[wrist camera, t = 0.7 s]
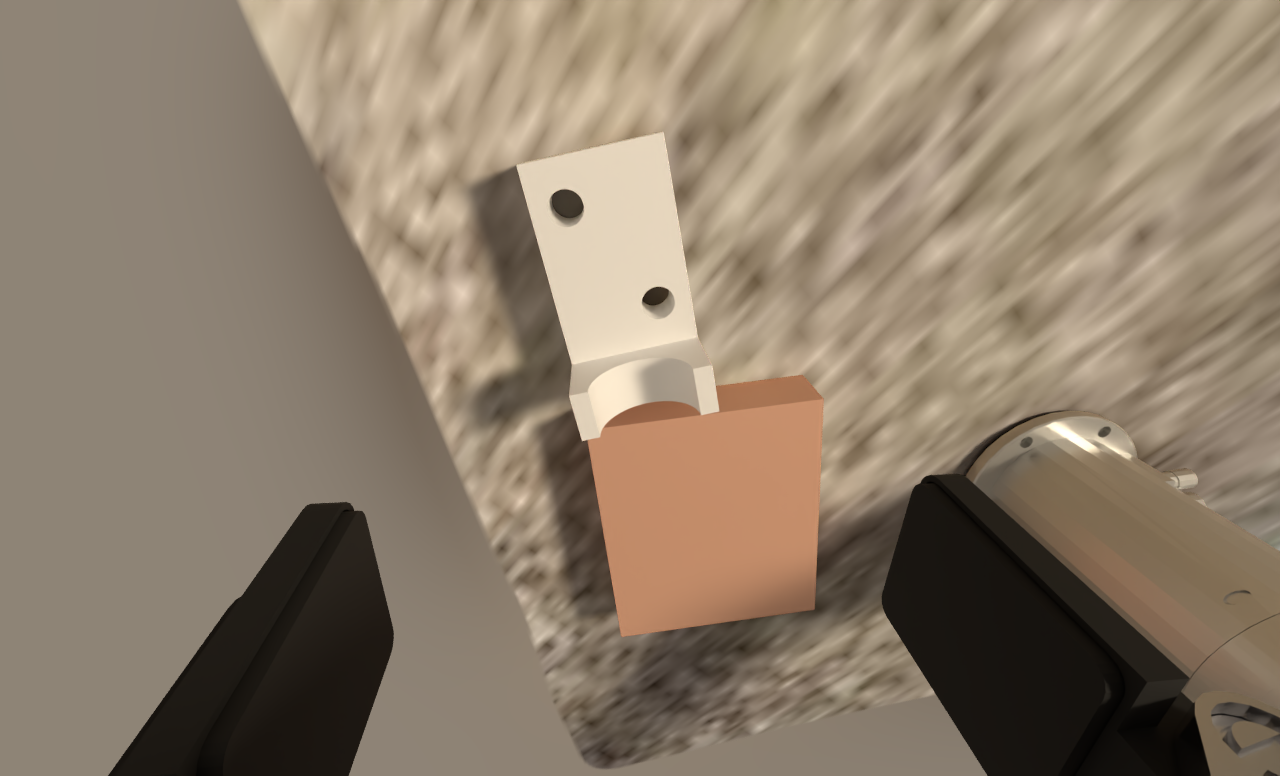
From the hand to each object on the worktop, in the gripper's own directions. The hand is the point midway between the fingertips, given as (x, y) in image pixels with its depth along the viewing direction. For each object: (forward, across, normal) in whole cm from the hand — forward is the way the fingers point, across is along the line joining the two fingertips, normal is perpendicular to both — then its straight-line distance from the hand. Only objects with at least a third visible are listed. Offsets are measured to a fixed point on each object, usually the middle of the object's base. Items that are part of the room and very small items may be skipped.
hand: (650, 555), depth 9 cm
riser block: (+24, -7, +17) cm, 30 cm away
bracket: (+24, -1, +1) cm, 24 cm away
